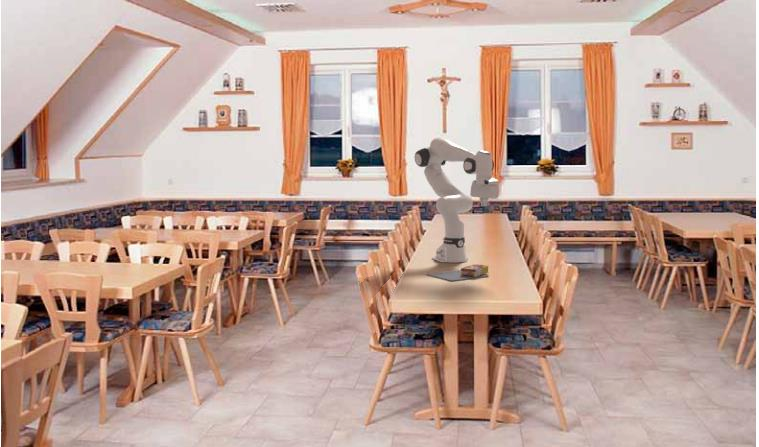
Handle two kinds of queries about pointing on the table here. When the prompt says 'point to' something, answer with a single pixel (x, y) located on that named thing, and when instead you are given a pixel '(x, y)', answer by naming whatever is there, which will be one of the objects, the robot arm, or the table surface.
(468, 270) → the candy box
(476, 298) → the table surface
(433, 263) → the table surface
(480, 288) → the table surface
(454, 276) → the mat
